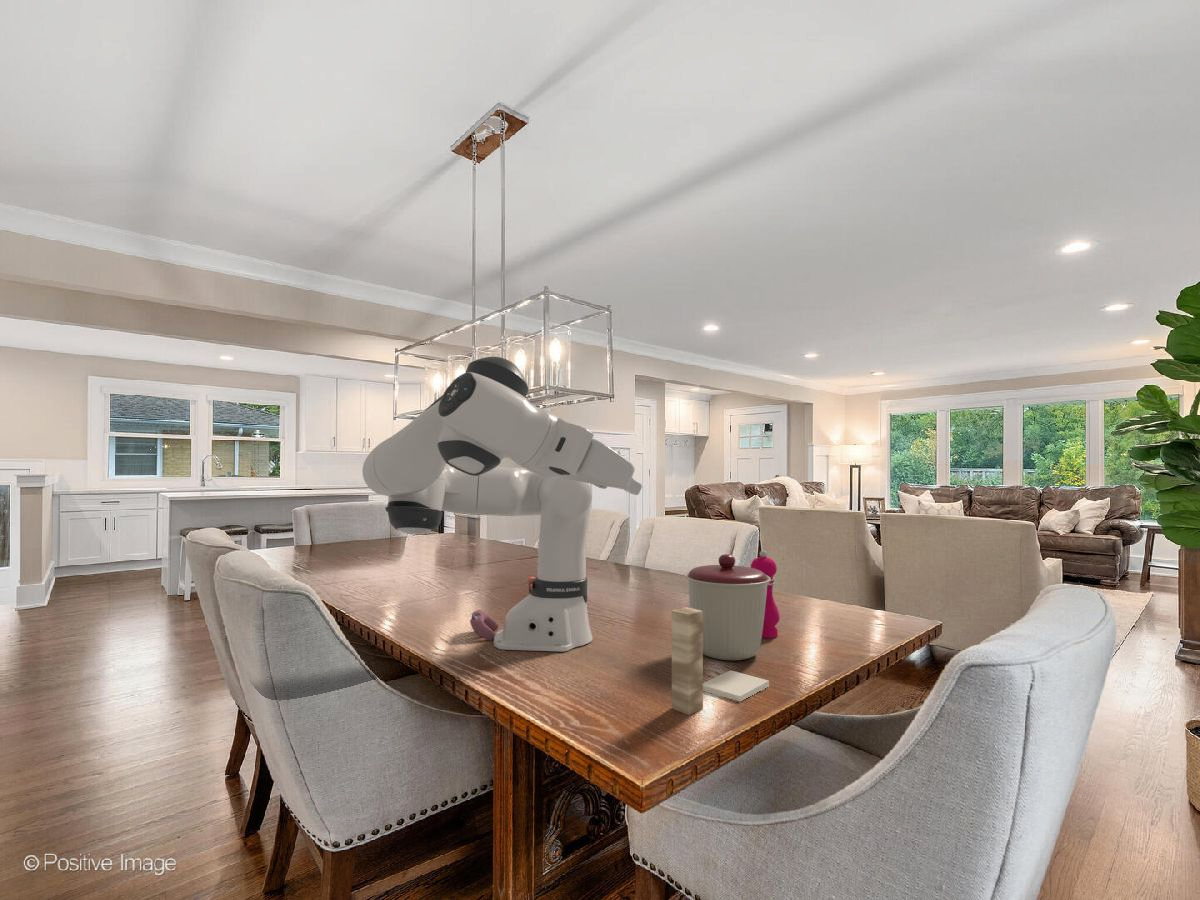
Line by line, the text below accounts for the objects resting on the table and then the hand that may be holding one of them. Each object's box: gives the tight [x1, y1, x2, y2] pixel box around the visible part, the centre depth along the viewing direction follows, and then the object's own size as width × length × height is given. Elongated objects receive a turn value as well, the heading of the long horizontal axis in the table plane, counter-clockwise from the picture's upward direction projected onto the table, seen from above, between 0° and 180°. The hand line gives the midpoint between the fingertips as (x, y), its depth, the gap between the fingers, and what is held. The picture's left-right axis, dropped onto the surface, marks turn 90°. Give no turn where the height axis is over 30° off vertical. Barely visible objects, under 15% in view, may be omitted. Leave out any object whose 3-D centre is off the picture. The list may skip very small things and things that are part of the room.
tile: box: [703, 669, 770, 702], centre depth 107 cm, size 2×8×10 cm
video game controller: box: [469, 609, 499, 641], centre depth 140 cm, size 10×5×7 cm, turn 5°
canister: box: [683, 554, 771, 661], centre depth 127 cm, size 18×18×21 cm
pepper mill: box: [750, 550, 780, 639], centre depth 141 cm, size 7×7×20 cm
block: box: [671, 606, 704, 716], centre depth 98 cm, size 4×4×16 cm
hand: (621, 487), depth 92 cm, fingers open, 8 cm apart
